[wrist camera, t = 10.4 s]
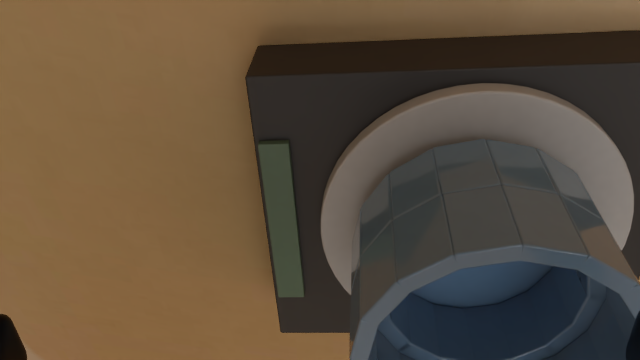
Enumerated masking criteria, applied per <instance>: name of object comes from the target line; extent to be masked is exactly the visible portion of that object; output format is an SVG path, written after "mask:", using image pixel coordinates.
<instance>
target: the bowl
mask: <svg viewBox="0 0 640 360" xmlns="http://www.w3.org/2000/svg"><path fill="white" fill-rule="evenodd" d="M639 311H640V282H639V280H638V279H637V277H636V275H635V273H634V272H633V270H632V268H631V266H630V265H629V263H628V261H627V259H626V258H625V256H624V254H623V252H622V251H621V249H620V247H619V245H618V243H617V242H616V240H615V238H614V236H613V235H612V233H611V231H610V229H609V228H608V226H607V224H606V222H605V221H604V219H603V217H602V215H601V213H600V212H599V210H598V208H597V206H596V205H595V203H594V201H593V200H592V198H591V196H590V194H589V193H588V191H587V189H586V188H585V186H584V184H583V183H582V181H581V179H580V177H579V176H578V174H577V173H575V171H574V170H572V169H571V168H569V167H567V166H566V165H564V164H563V163H561V162H559V161H558V160H556V159H555V158H553V157H551V156H550V155H548V154H547V153H545V152H543V151H542V150H540V149H538V148H534V147H531V146H525V145H519V144H513V143H507V142H501V141H495V140H489V139H486V140H485V139H478V140H472V141H466V142H461V143H455V144H449V145H444V146H438V147H433V150H432V149H430V150H428V151H426V152H424V153H422V154H421V155H419V156H417V157H415V158H413V159H412V160H410V161H408V162H406V163H404V164H403V165H401V166H399V167H397V168H396V169H394V170H392V171H391V172H390V173H389V174H387V175H386V176H385V178H384V179H383V180H382V181H381V183H380V184H379V185H378V186H377V187H376V189H375V190H374V191H373V192H372V194H371V195H370V196H369V197H368V198H367V200H366V201H365V202H364V203H363V205H362V207H361V208H360V210H359V214H358V219H357V223H356V227H355V231H354V235H353V239H352V261H351V303H350V355H349V357H350V360H626V347H627V343H628V340H629V337H630V334H631V331H632V328H633V325H634V322H635V319H636V316H637V314H638V312H639Z"/></svg>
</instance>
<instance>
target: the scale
mask: <svg viewBox="0 0 640 360" xmlns="http://www.w3.org/2000/svg"><path fill="white" fill-rule="evenodd" d="M245 79H246V86H247V93H248V100H249V107H250V115H251V122H252V129H253V136H254V143H255V151H256V158H257V165H258V172H259V179H260V187H261V194H262V201H263V208H264V216H265V223H266V230H267V237H268V244H269V252H270V259H271V266H272V273H273V280H274V288H275V295H276V302H277V309H278V316H279V324H280V331H281V332H282V333H350V303H351V261H352V239H353V235H354V231H355V227H356V223H357V219H358V214H359V210H360V208H361V207H362V205H363V203H364V202H365V201H366V200H367V198H368V197H369V196H370V195H371V194H372V192H373V191H374V190H375V189H376V187H377V186H378V185H379V184H380V183H381V181H382V180H383V179H384V178H385V176H386V175H387V174H389V173H390V172H391V171H392V170H394V169H396V168H397V167H399V166H401V165H403V164H404V163H406V162H408V161H410V160H412V159H413V158H415V157H417V156H419V155H421V154H422V153H424V152H426V151H428V150H430V149H432V150H433V147H438V146H444V145H449V144H455V143H461V142H466V141H472V140H478V139H485V140H486V139H489V140H495V141H501V142H507V143H513V144H519V145H525V146H531V147H534V148H538V149H540V150H542V151H543V152H545V153H547V154H548V155H550V156H551V157H553V158H555V159H556V160H558V161H559V162H561V163H563V164H564V165H566V166H567V167H569V168H571V169H572V170H574V171H575V173H577V174H578V176H579V177H580V179H581V181H582V183H583V184H584V186H585V188H586V189H587V191H588V193H589V194H590V196H591V198H592V200H593V201H594V203H595V205H596V206H597V208H598V210H599V212H600V213H601V215H602V217H603V219H604V221H605V222H606V224H607V226H608V228H609V229H610V231H611V233H612V235H613V236H614V238H615V240H616V242H617V243H618V245H619V247H620V249H621V251H622V252H623V254H624V256H625V258H626V259H627V261H628V263H629V265H630V266H631V268H632V270H633V272H634V273H635V275H636V277H637V279H638V280H639V277H640V31H619V32H594V33H569V34H544V35H519V36H494V37H469V38H444V39H419V40H394V41H369V42H344V43H319V44H294V45H269V46H258V47H257V50H256V52H255V55H254V57H253V60H252V62H251V65H250V67H249V70H248V72H247V75H246V77H245Z"/></svg>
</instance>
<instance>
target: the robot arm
mask: <svg viewBox="0 0 640 360" xmlns="http://www.w3.org/2000/svg"><path fill="white" fill-rule="evenodd" d="M0 360H27V354H26V350H25V348H24V345H23V343H22V341H21V339H20V337H19V335H18V333H17V330H16V328H15V326H14V324H13V322H12V320H11V318H9V317H8V316H7V315H4V314H0ZM626 360H640V311H639V312H638V314H637V316H636V319H635V322H634V325H633V328H632V331H631V334H630V337H629V340H628V343H627V347H626Z"/></svg>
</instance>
